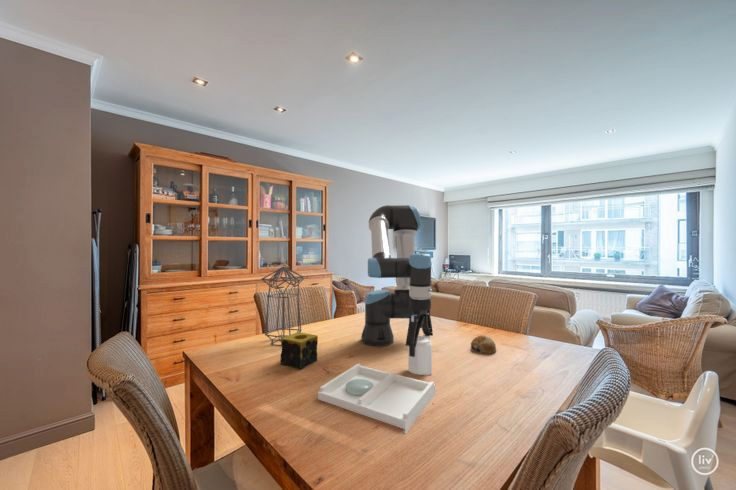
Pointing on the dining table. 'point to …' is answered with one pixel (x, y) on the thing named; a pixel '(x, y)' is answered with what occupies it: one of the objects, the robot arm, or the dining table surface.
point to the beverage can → (422, 357)
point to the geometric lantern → (286, 270)
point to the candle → (299, 350)
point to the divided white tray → (381, 395)
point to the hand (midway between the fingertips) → (420, 359)
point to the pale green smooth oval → (358, 387)
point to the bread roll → (483, 344)
